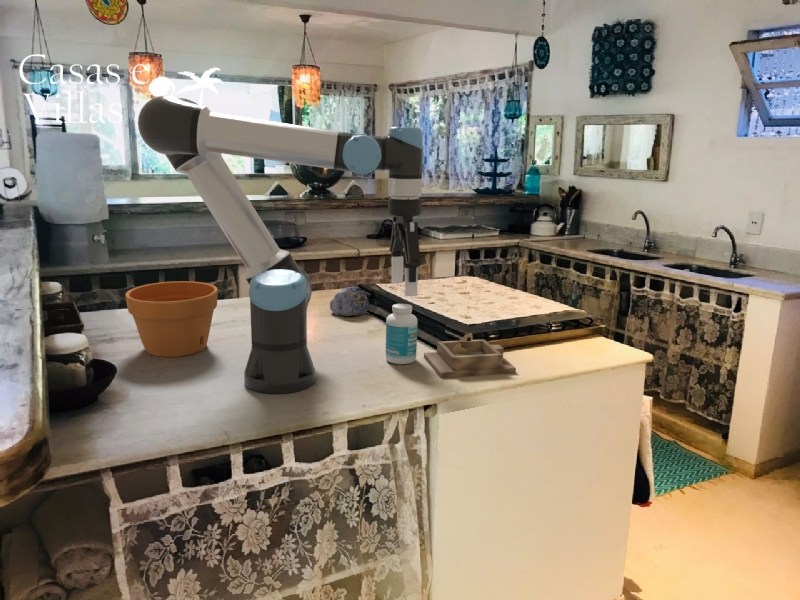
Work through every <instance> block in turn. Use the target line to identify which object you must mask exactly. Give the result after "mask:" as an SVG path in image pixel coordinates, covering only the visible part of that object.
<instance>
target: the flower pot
mask: <svg viewBox="0 0 800 600" xmlns="http://www.w3.org/2000/svg"><path fill="white" fill-rule="evenodd" d="M218 291H219V290H218V287H217V286H215V285H214V284H210V283H207V282H201V281H200V282H199V281H187V280H185V281H184V280H183V281H179V280H178V281H165V282H163V281H162V282H156V283H147V284H143V285H140V286H139V285H138V286H136V287H134V288H132V289H129V290H127V291H126V293H125V302H126V306H127V307H126V308H127V311H128V313H129V314H130V315H132V317H133V319H134V320H133V321H134V322H135V326H136V329H137V332H138V335H139V338H140V340H141V342H142V343H141V344H142V346H143V348H144V350H145V352H146V353H147V354H148V355H152V356H155V357H160V358H178V357H186V356H191V355H194V354H197V353H199V352H201V351H203V350H204V349H206V348H207V345H208V341H209V338H210V337H209V336H210V331H211V325H212V321H213V317H214V310H215V309H216V308H217V306H218Z"/></svg>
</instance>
